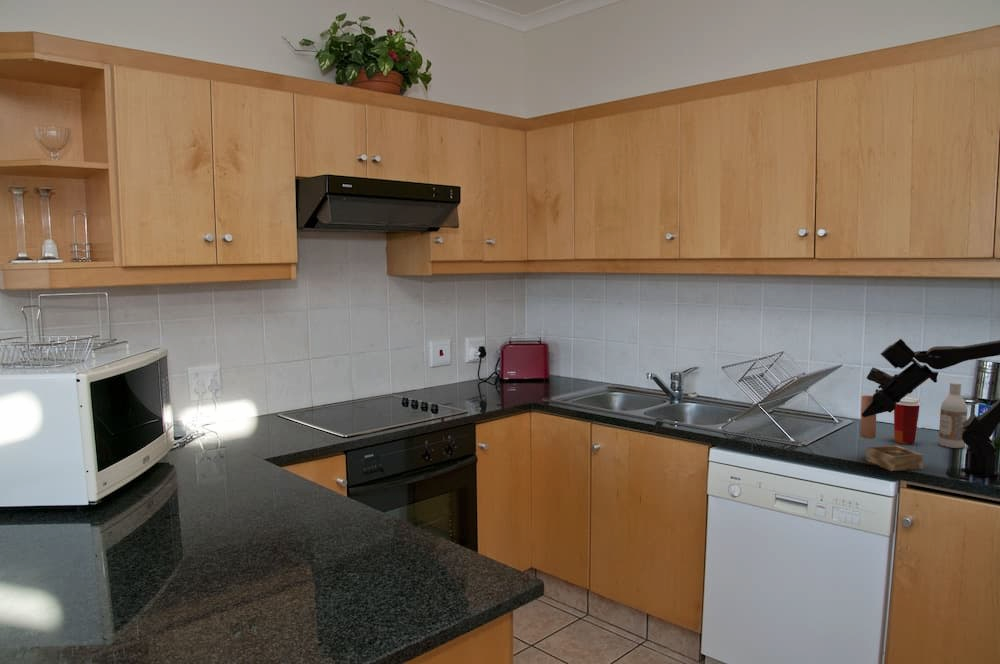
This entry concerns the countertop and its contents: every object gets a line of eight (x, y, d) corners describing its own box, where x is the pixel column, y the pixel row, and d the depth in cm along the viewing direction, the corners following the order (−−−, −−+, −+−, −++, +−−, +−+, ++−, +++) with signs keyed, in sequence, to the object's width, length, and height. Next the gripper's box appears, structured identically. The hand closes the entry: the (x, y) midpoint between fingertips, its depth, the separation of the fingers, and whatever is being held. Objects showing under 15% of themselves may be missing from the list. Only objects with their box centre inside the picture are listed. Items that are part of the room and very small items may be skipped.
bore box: (922, 468, 198) (923, 454, 198) (891, 471, 196) (892, 457, 196) (895, 458, 208) (896, 445, 207) (865, 460, 206) (866, 447, 205)
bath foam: (933, 443, 223) (937, 381, 221) (949, 441, 225) (953, 380, 223) (953, 449, 217) (957, 385, 214) (970, 447, 219) (974, 384, 216)
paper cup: (920, 441, 226) (923, 398, 224) (915, 446, 220) (917, 402, 218) (893, 437, 231) (895, 395, 229) (887, 442, 225) (889, 399, 224)
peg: (878, 438, 205) (880, 397, 204) (866, 439, 205) (868, 398, 203) (868, 434, 209) (870, 395, 208) (857, 435, 209) (858, 395, 207)
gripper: (888, 355, 210) (846, 388, 217) (883, 363, 195) (838, 399, 202) (918, 383, 207) (874, 416, 214) (915, 394, 191) (868, 429, 198)
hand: (863, 414), depth 207 cm, fingers closed on peg, 4 cm apart
